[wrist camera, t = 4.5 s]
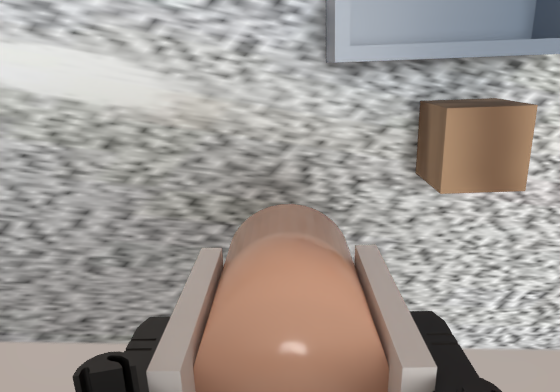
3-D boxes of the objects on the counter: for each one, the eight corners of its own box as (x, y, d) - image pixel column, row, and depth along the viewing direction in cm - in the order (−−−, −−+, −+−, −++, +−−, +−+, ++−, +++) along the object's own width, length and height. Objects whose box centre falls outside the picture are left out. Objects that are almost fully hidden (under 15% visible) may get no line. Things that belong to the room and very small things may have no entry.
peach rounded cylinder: (231, 315, 18) (200, 462, 11) (224, 205, 17) (183, 300, 10) (348, 313, 18) (385, 460, 11) (351, 202, 17) (395, 297, 10)
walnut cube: (415, 172, 30) (440, 193, 25) (419, 100, 28) (447, 108, 24) (486, 170, 30) (525, 191, 25) (494, 98, 28) (537, 105, 23)
